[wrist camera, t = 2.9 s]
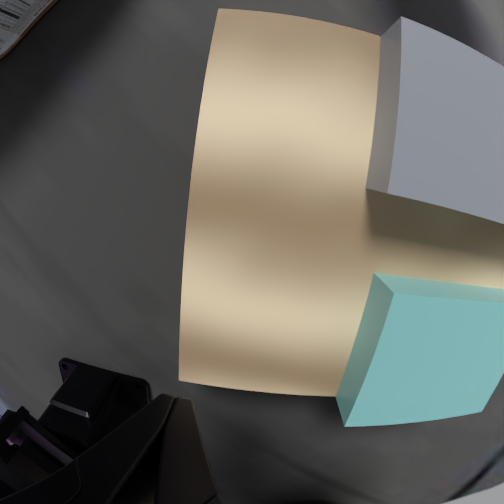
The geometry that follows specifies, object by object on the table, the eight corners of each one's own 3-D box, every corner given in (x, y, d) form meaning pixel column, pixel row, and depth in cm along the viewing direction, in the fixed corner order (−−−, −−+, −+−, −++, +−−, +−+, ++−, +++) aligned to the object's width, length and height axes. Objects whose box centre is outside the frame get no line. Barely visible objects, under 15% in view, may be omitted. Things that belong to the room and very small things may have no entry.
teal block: (465, 389, 13) (481, 411, 11) (335, 396, 13) (344, 426, 11) (507, 289, 11) (532, 305, 9) (373, 272, 11) (394, 292, 9)
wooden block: (467, 352, 17) (497, 385, 13) (194, 335, 16) (178, 380, 13) (519, 133, 13) (562, 133, 9) (228, 45, 12) (218, 8, 9)
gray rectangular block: (512, 226, 10) (540, 236, 9) (365, 188, 10) (387, 193, 8) (523, 104, 9) (551, 101, 7) (380, 36, 9) (401, 16, 7)
